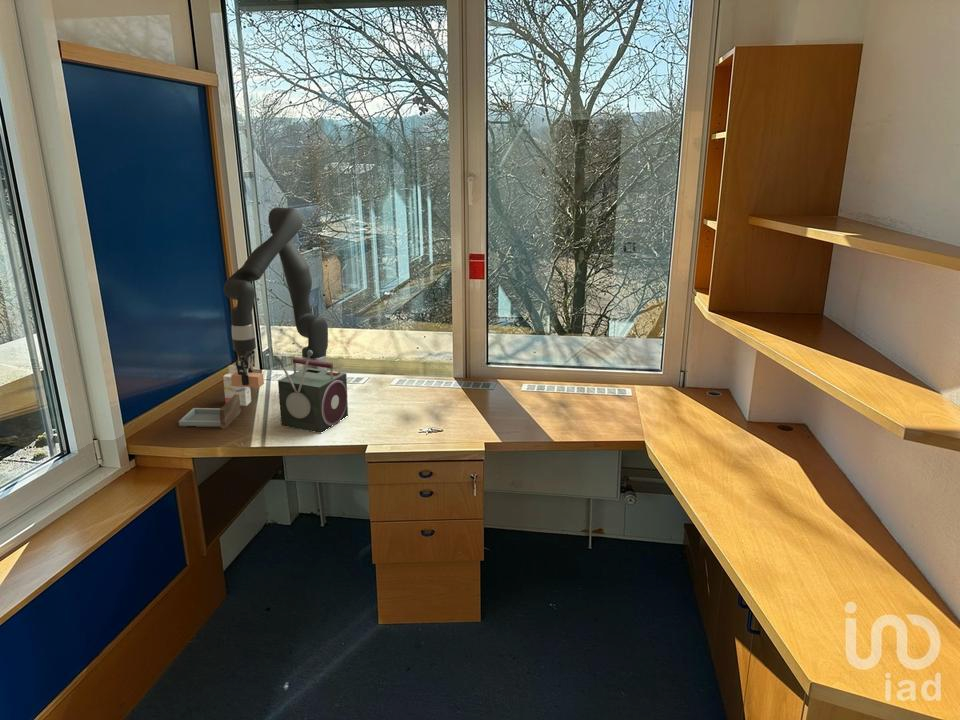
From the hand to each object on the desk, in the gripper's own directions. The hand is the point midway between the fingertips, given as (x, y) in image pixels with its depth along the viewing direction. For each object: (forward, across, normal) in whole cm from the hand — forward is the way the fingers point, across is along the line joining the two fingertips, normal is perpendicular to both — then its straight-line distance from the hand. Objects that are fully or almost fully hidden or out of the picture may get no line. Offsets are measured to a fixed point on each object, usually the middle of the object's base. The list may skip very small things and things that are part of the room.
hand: (247, 382), depth 235 cm
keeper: (+14, 0, +16) cm, 21 cm away
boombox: (+15, 0, -23) cm, 27 cm away
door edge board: (+14, 0, +7) cm, 16 cm away
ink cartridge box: (+15, +17, +10) cm, 25 cm away
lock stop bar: (+1, 0, 0) cm, 1 cm away
